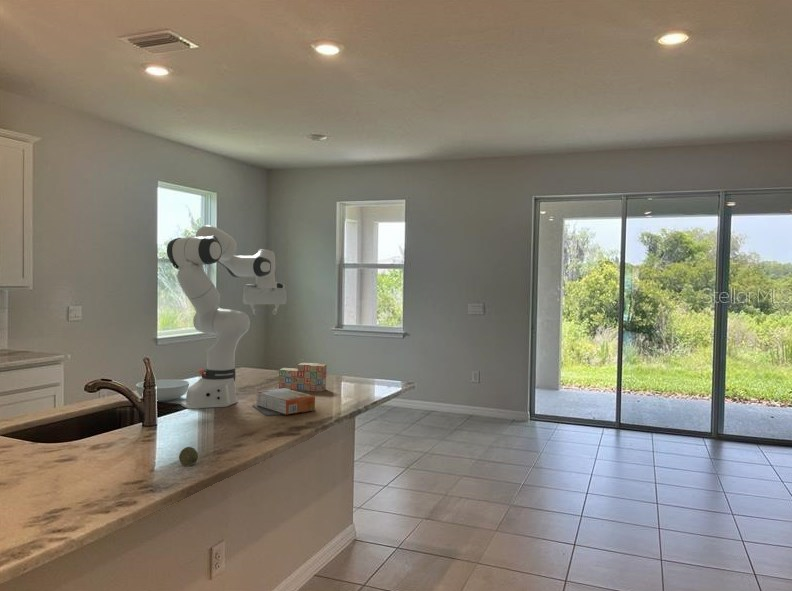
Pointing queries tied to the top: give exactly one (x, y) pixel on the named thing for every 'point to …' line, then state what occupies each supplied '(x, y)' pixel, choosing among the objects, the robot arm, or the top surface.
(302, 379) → the stack of blocks
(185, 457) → the lime
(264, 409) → the mat
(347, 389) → the top surface
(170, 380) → the serving bowl
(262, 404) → the cracker box
